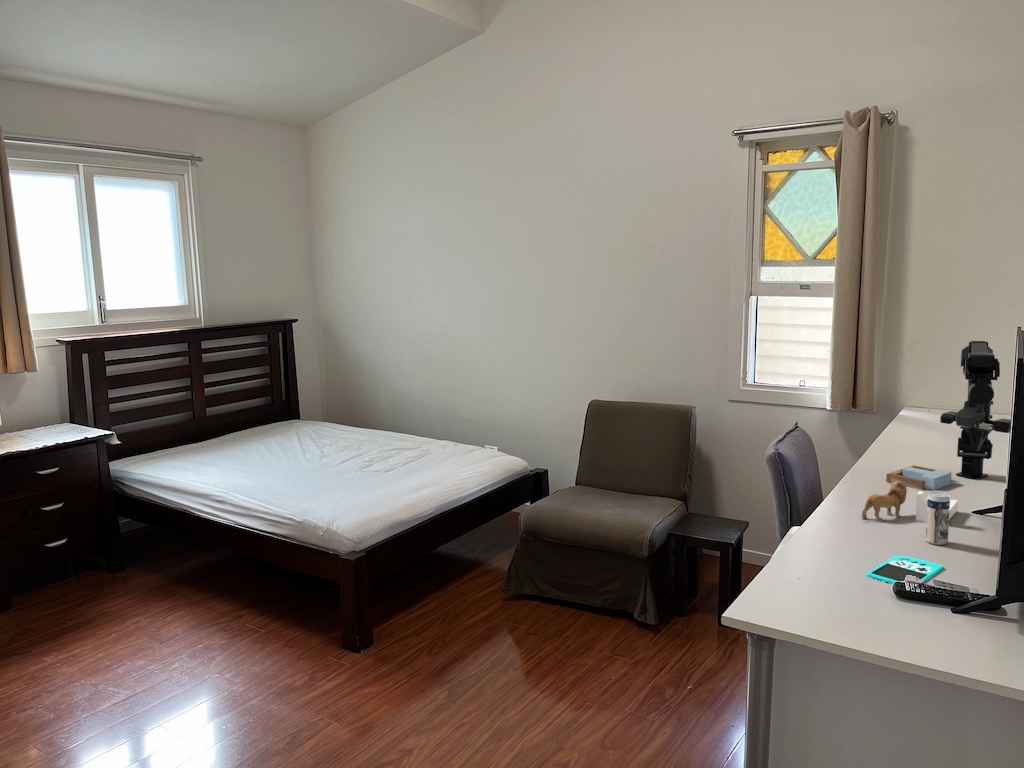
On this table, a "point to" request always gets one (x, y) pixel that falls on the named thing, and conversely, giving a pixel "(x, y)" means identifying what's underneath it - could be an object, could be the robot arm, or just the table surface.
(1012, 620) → the table surface
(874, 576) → the handheld game console
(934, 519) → the printed cylindrical canister
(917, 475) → the t block
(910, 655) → the table surface
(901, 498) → the lion figurine
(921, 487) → the pocket
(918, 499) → the bracket
